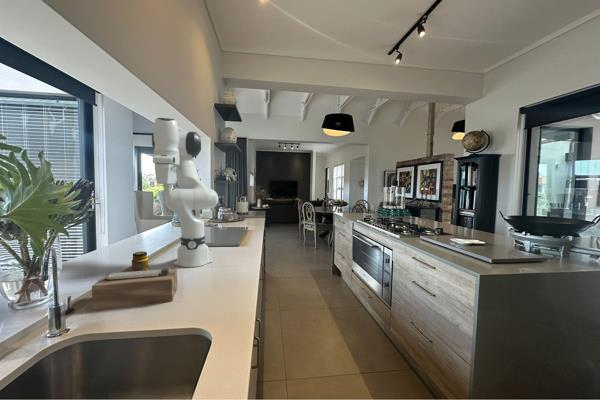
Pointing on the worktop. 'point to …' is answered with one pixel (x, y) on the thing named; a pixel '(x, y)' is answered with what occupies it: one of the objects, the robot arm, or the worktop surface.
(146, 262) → the condiment
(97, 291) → the walnut case
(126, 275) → the latch bar
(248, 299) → the worktop surface
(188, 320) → the worktop surface
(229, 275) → the worktop surface
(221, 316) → the worktop surface
